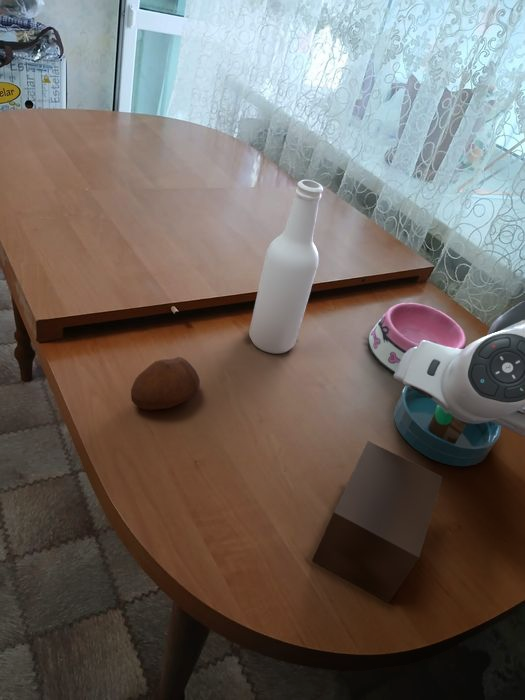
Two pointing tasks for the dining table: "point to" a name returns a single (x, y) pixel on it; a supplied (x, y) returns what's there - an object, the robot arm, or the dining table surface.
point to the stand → (379, 522)
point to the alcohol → (287, 275)
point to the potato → (165, 384)
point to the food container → (446, 425)
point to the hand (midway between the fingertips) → (457, 400)
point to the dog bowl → (411, 332)
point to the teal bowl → (414, 428)
